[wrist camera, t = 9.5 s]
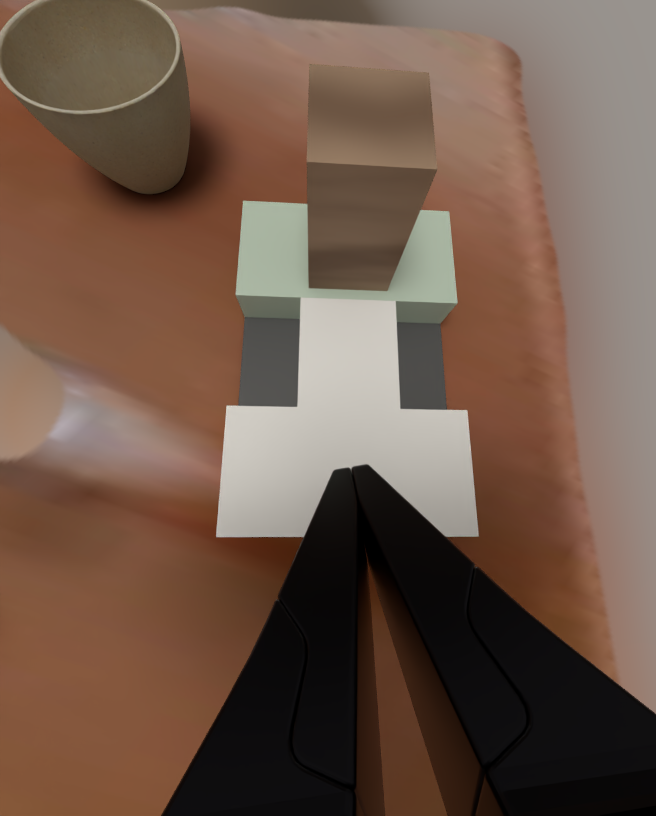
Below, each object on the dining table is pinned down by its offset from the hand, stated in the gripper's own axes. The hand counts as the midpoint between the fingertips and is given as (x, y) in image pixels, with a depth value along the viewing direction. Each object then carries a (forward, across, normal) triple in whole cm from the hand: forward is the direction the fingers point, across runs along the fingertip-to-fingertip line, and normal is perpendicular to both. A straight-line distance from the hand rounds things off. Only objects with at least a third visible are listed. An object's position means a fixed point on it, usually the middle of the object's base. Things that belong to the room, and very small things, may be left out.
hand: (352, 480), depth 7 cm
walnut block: (+16, -2, -4) cm, 17 cm away
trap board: (+14, -1, +3) cm, 15 cm away
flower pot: (+26, +11, -12) cm, 30 cm away
